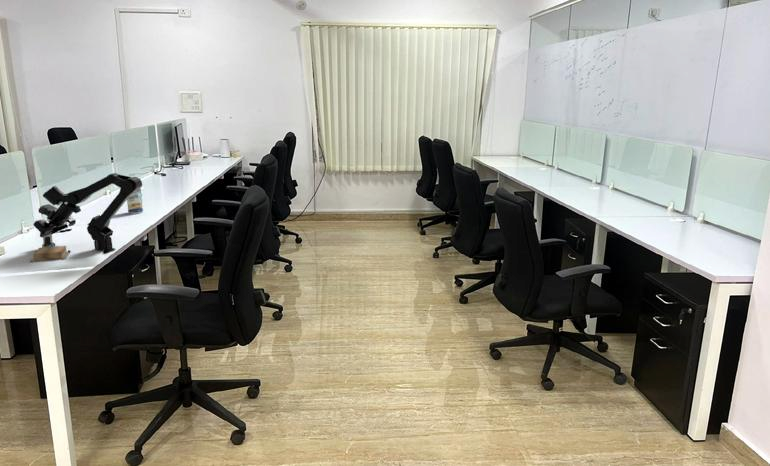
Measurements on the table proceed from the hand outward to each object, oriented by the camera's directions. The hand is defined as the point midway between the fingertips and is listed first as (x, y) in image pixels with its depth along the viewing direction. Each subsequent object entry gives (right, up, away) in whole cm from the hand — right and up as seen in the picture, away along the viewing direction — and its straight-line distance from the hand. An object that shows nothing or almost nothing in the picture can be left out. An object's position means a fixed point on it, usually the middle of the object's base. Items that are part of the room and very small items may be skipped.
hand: (45, 235), depth 245 cm
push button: (+1, -7, +1) cm, 7 cm away
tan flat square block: (+10, -9, -12) cm, 18 cm away
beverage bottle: (+4, +13, +80) cm, 81 cm away
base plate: (+10, -10, -12) cm, 19 cm away
